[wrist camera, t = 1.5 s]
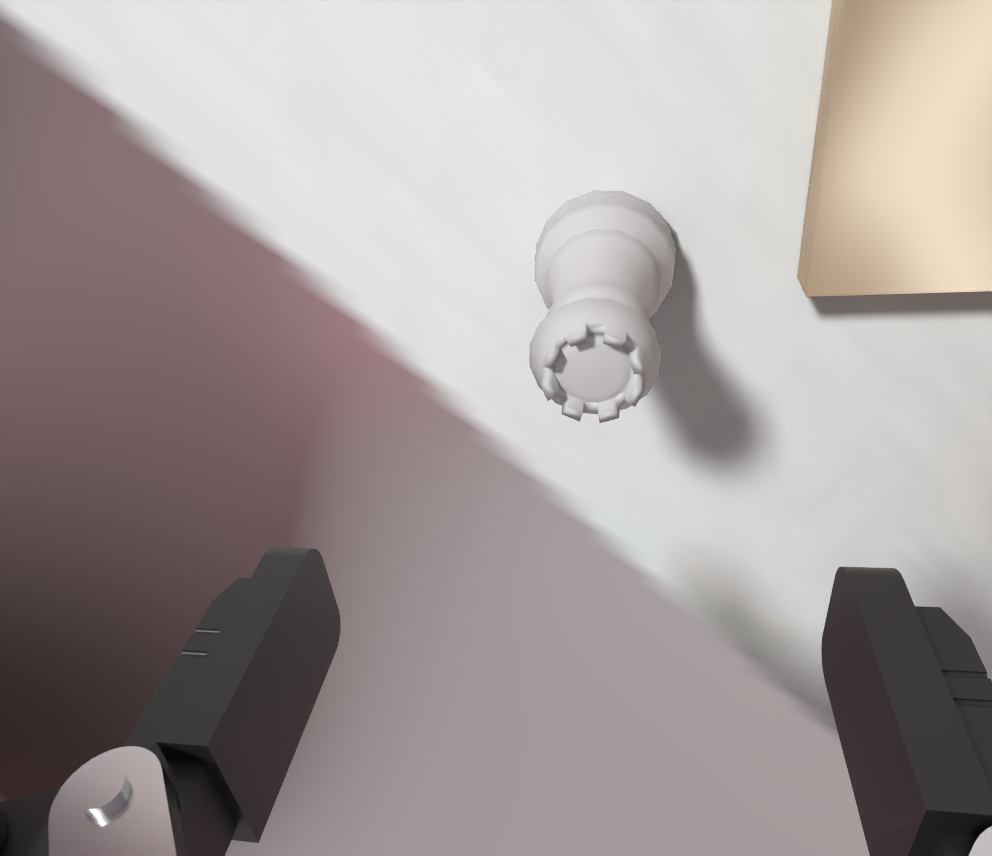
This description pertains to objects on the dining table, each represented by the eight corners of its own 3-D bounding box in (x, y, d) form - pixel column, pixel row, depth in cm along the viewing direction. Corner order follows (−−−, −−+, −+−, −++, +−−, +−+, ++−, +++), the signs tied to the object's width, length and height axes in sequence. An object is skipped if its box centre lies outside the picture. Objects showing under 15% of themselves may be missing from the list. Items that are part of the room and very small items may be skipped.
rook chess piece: (705, 239, 23) (731, 364, 17) (617, 340, 26) (609, 483, 19) (591, 155, 22) (571, 252, 16) (510, 268, 25) (464, 392, 18)
